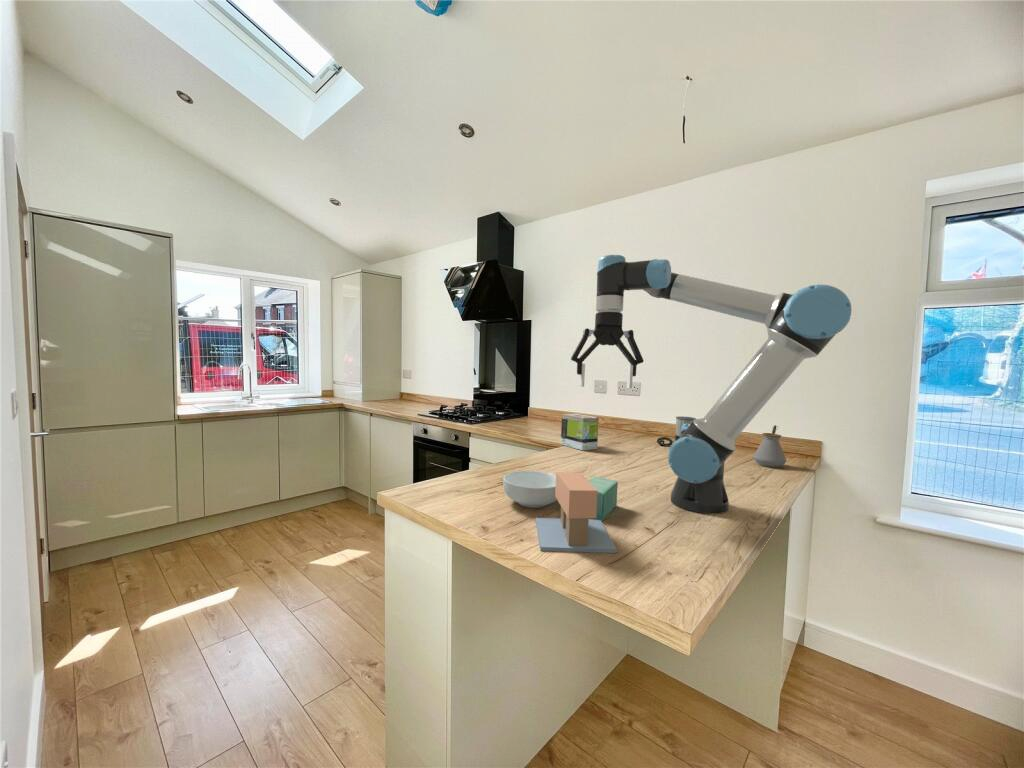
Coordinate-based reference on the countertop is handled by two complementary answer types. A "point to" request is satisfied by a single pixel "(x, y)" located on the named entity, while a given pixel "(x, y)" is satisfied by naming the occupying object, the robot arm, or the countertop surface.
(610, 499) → the box
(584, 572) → the countertop surface
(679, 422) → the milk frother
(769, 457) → the coffee pot
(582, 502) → the beam
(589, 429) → the tea box
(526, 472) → the cereal bowl
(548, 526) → the base
